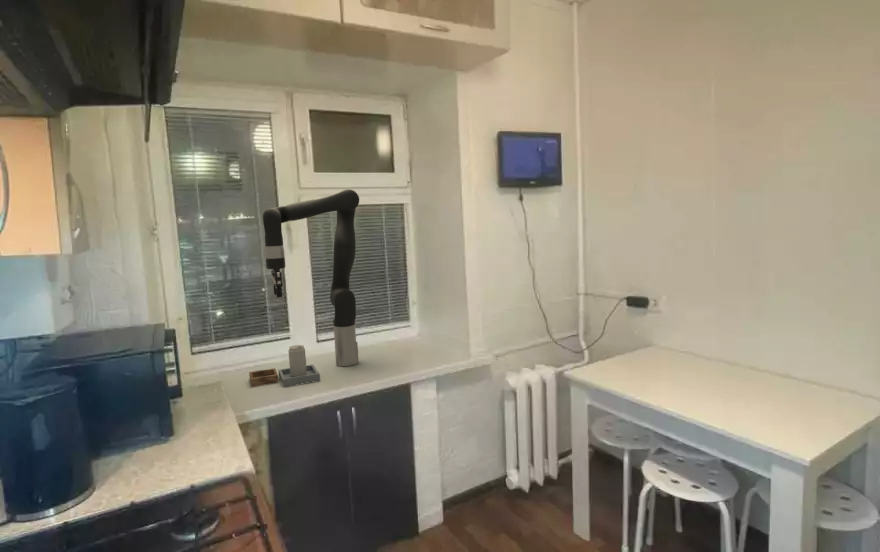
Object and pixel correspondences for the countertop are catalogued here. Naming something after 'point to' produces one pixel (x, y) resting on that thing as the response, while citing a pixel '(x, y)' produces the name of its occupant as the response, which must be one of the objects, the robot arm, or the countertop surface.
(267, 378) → the collar
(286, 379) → the tray
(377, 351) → the countertop surface
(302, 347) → the beverage can
